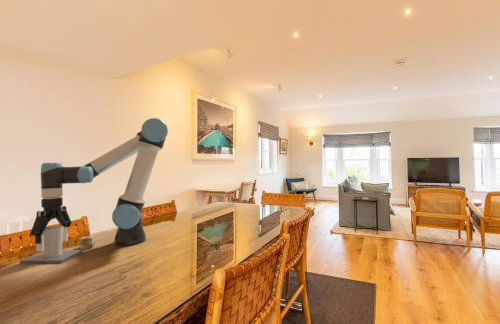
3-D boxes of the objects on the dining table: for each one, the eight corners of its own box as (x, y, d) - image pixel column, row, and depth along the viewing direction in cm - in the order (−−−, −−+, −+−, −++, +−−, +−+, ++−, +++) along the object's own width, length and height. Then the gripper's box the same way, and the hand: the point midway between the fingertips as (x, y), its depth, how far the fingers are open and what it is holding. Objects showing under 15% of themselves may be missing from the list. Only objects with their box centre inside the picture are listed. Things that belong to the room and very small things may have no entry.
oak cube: (94, 245, 134) (94, 235, 134) (92, 248, 129) (92, 238, 129) (83, 246, 132) (83, 236, 132) (80, 249, 128) (80, 239, 128)
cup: (52, 258, 112) (51, 230, 112) (36, 257, 114) (36, 229, 114) (68, 252, 120) (67, 225, 120) (54, 251, 121) (53, 225, 121)
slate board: (82, 252, 123) (82, 250, 123) (62, 263, 110) (61, 260, 110) (45, 252, 123) (45, 250, 123) (20, 263, 110) (20, 260, 110)
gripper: (64, 194, 129) (65, 237, 129) (18, 201, 104) (19, 255, 104) (79, 194, 129) (80, 237, 129) (36, 201, 104) (37, 255, 104)
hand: (52, 245), depth 117 cm, fingers open, 13 cm apart
